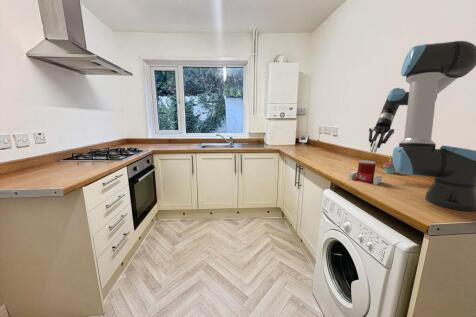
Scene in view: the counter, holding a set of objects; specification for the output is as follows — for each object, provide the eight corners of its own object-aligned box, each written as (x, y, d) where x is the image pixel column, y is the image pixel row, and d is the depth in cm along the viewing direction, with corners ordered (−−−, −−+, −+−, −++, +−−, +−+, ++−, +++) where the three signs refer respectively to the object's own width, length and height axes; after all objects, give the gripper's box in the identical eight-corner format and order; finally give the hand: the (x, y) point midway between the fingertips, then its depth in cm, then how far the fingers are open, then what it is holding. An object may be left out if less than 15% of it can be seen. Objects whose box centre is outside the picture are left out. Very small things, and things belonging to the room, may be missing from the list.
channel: (354, 176, 122) (355, 171, 121) (381, 181, 112) (381, 175, 112) (349, 179, 116) (349, 173, 115) (376, 185, 106) (377, 178, 106)
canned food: (375, 183, 110) (378, 163, 108) (359, 182, 111) (362, 162, 109) (369, 179, 117) (372, 160, 115) (354, 178, 119) (356, 159, 117)
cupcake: (378, 171, 137) (381, 153, 135) (390, 170, 138) (393, 153, 136) (389, 174, 129) (392, 155, 126) (401, 174, 129) (404, 155, 127)
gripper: (399, 126, 122) (388, 156, 114) (372, 126, 132) (360, 153, 124) (398, 117, 117) (387, 148, 109) (370, 117, 127) (358, 145, 119)
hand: (373, 151), depth 117 cm, fingers closed
